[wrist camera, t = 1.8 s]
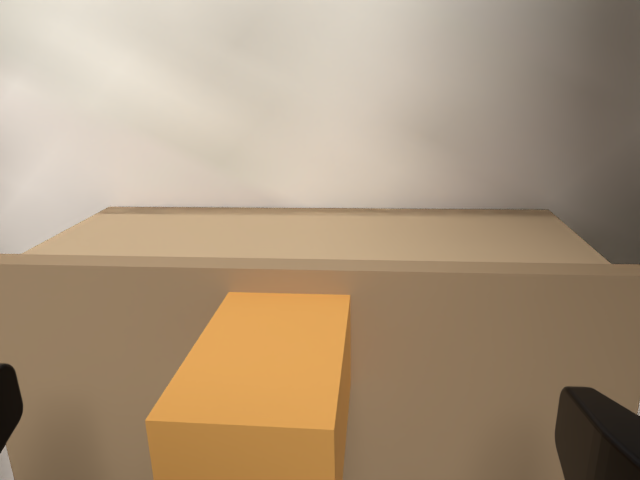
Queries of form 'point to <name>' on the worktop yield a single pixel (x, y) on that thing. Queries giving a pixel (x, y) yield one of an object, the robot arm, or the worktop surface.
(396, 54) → the worktop surface
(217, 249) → the carton
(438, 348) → the lid
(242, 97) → the worktop surface
